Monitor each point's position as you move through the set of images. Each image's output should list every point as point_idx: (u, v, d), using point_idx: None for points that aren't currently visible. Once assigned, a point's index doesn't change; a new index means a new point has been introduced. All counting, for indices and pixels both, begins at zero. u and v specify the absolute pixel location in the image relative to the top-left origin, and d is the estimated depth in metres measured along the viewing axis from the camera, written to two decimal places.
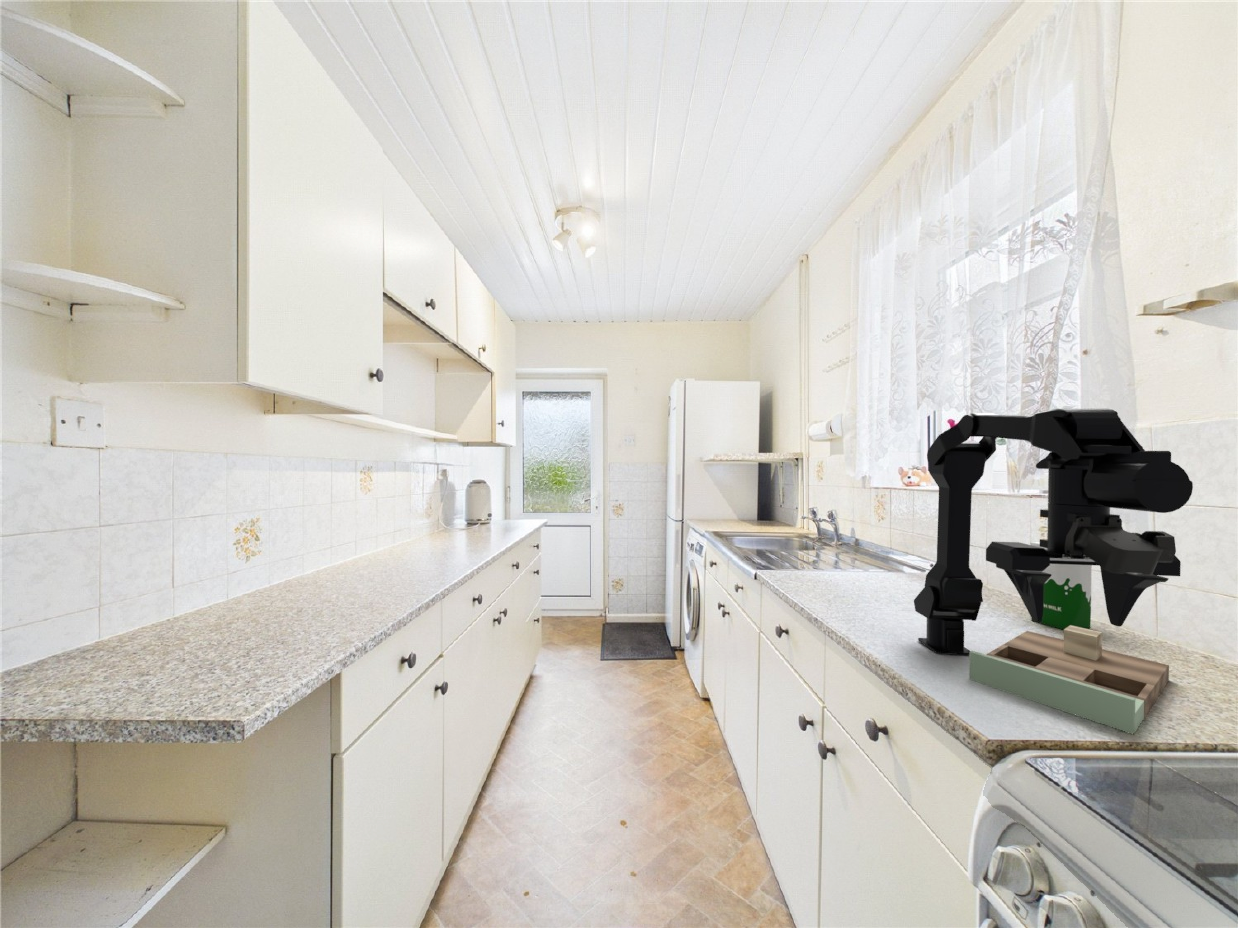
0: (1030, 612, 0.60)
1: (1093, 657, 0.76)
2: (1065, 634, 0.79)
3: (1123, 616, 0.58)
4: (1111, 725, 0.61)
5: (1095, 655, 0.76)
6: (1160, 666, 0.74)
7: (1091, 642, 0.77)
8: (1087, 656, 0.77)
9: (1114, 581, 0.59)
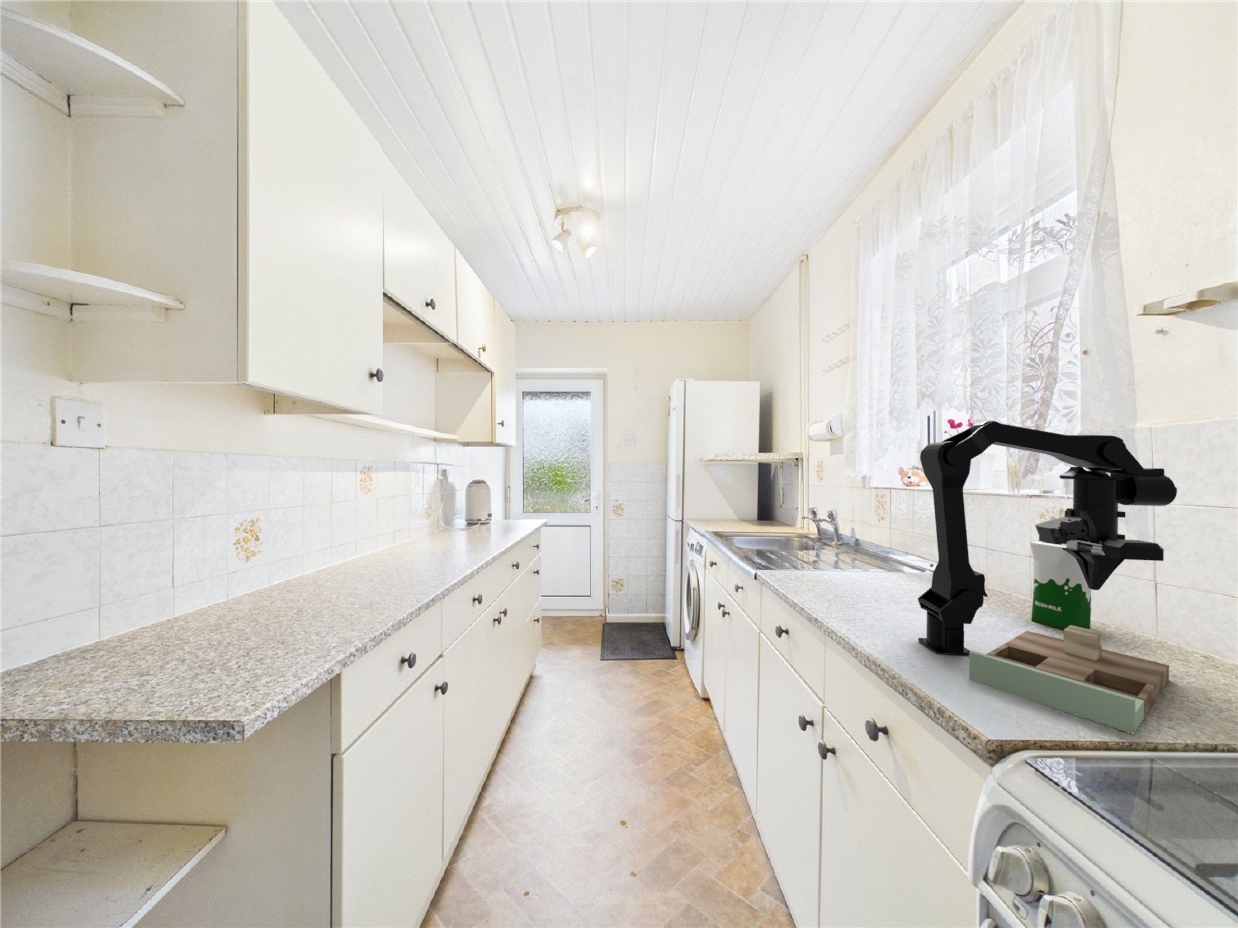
0: None
1: (1093, 657, 0.76)
2: (1065, 634, 0.79)
3: (1090, 581, 0.83)
4: (1111, 725, 0.61)
5: (1095, 655, 0.76)
6: (1160, 666, 0.74)
7: (1091, 642, 0.77)
8: (1087, 656, 0.77)
9: None
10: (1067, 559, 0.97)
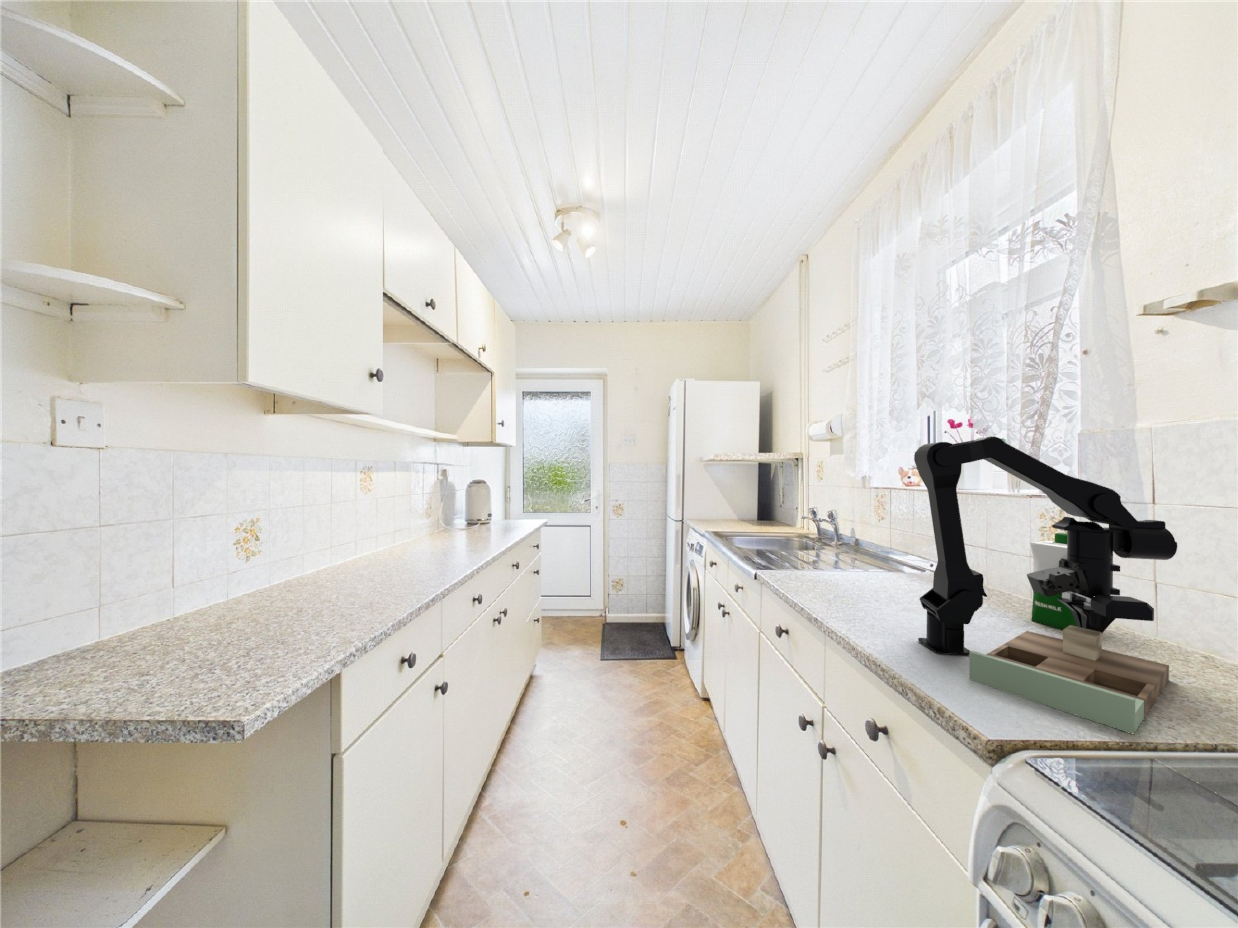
0: None
1: (1092, 657, 0.76)
2: (1064, 634, 0.79)
3: None
4: (1111, 725, 0.61)
5: (1094, 655, 0.76)
6: (1160, 666, 0.74)
7: (1090, 642, 0.77)
8: (1086, 656, 0.77)
9: None
10: None
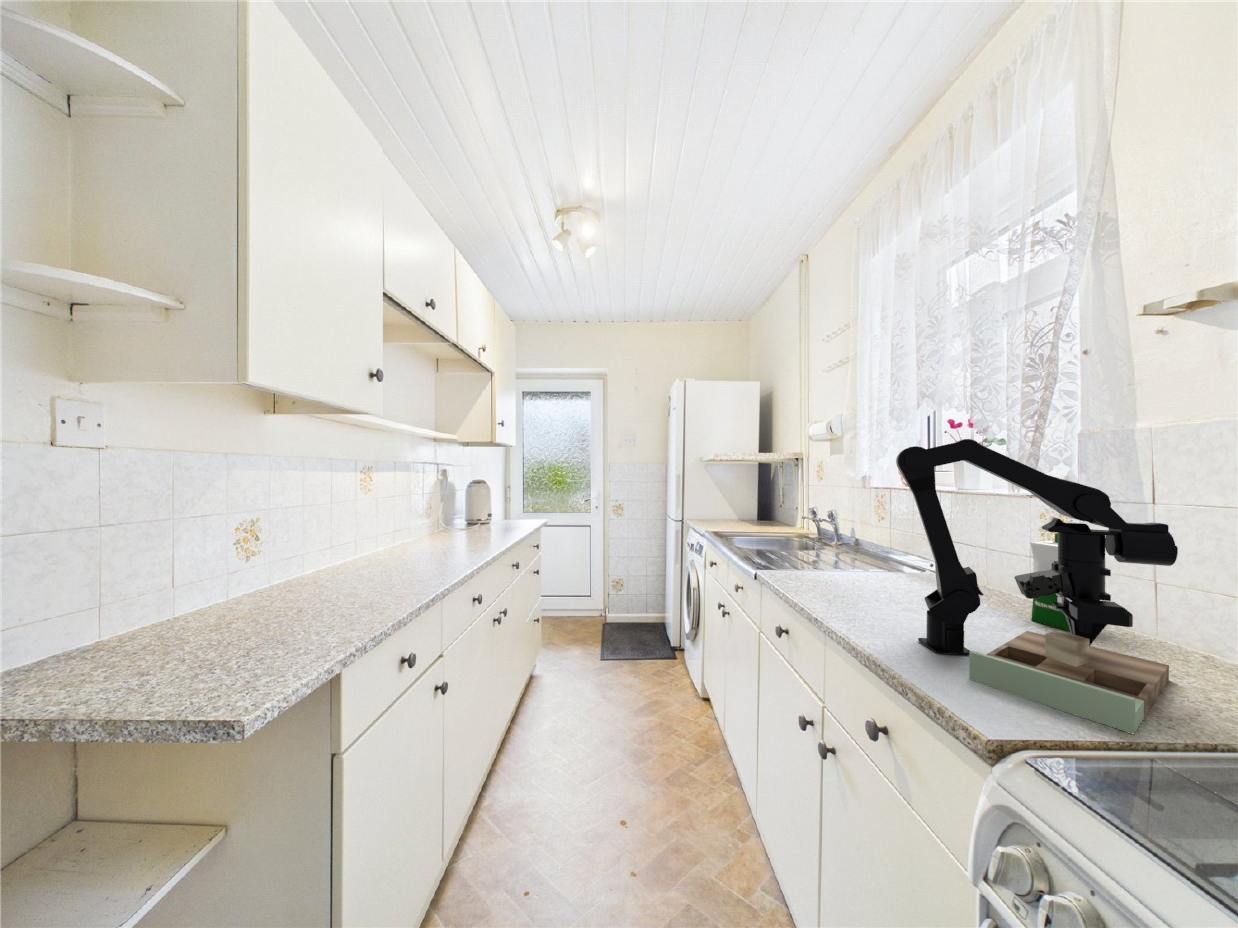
0: None
1: (1073, 663, 0.74)
2: (1046, 638, 0.77)
3: None
4: (1111, 725, 0.61)
5: (1075, 661, 0.74)
6: (1160, 666, 0.74)
7: (1071, 647, 0.74)
8: (1067, 662, 0.75)
9: None
10: None
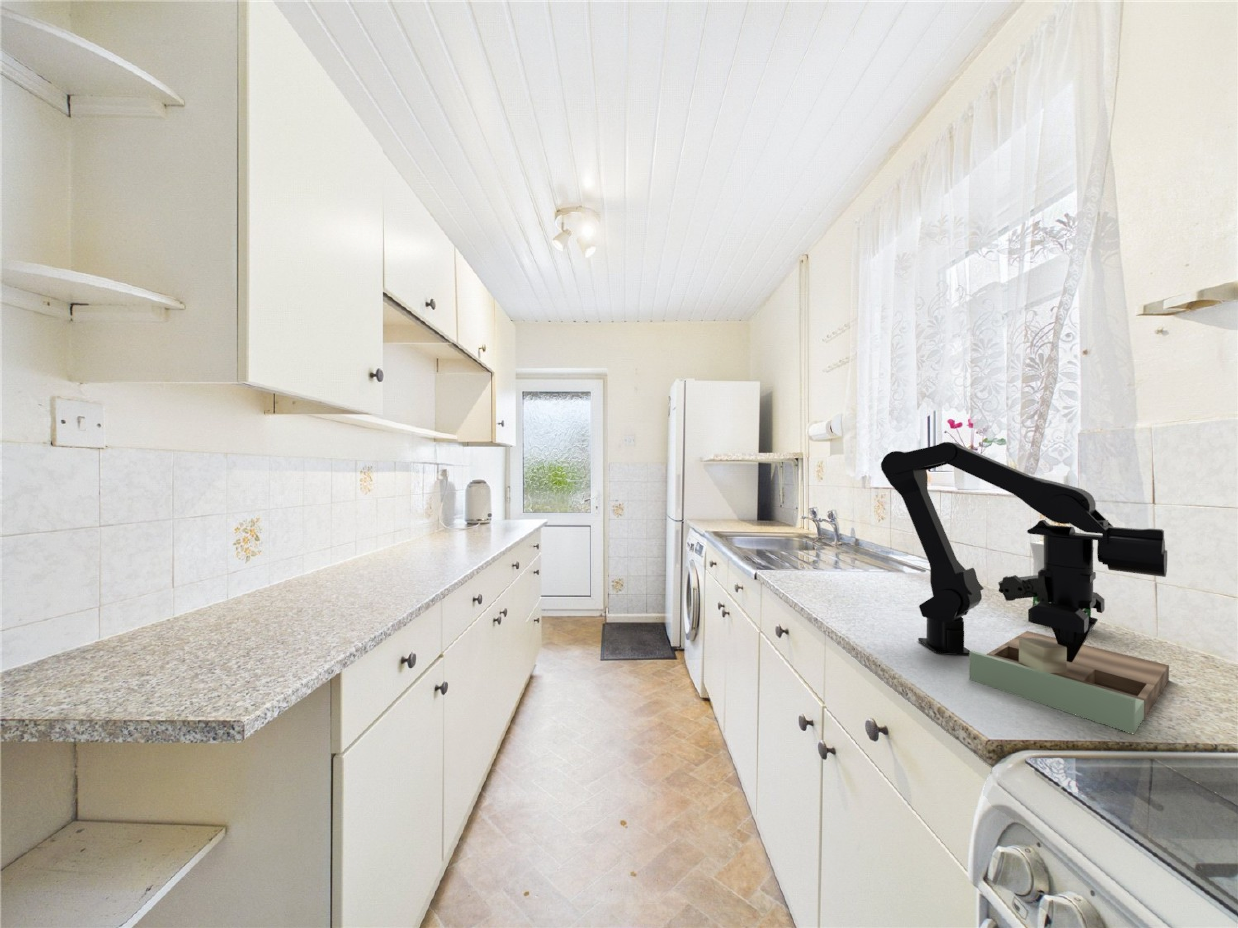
0: None
1: (1041, 669, 0.72)
2: (1020, 643, 0.75)
3: None
4: (1111, 725, 0.61)
5: (1043, 667, 0.71)
6: (1160, 666, 0.74)
7: (1039, 653, 0.72)
8: (1036, 668, 0.72)
9: None
10: None
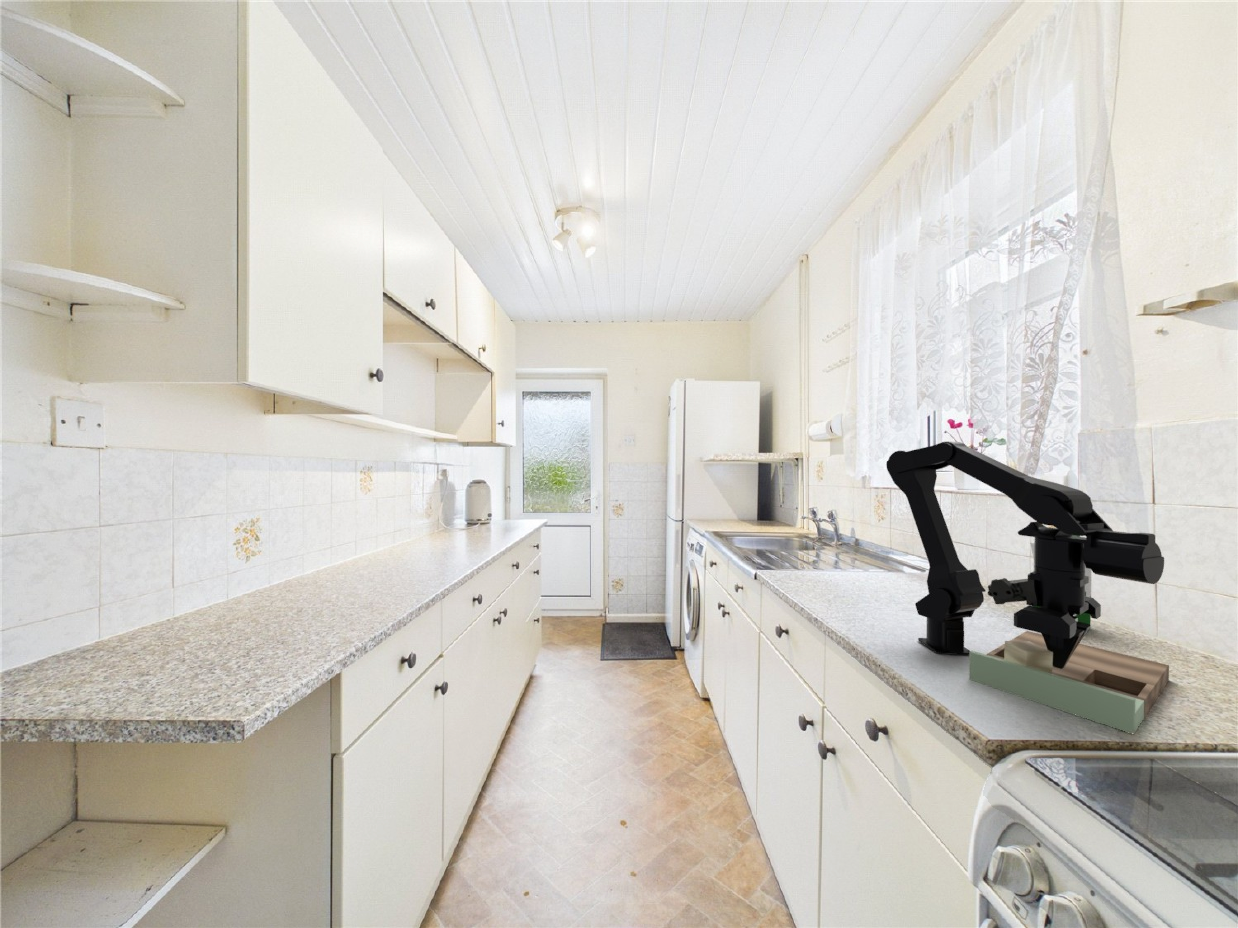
0: None
1: None
2: (1005, 646, 0.73)
3: None
4: (1111, 725, 0.61)
5: None
6: (1160, 666, 0.74)
7: (1023, 657, 0.70)
8: None
9: None
10: None
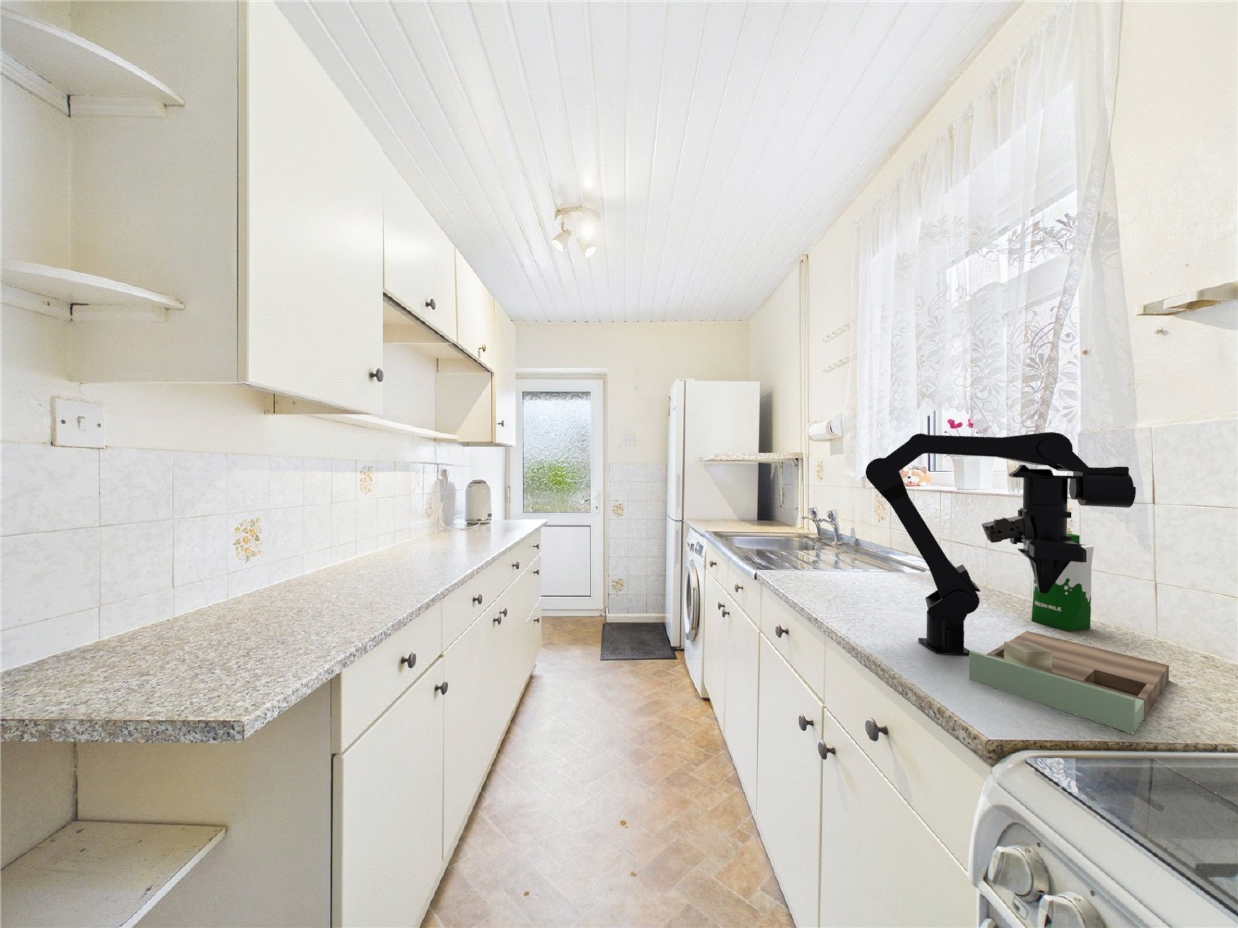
0: None
1: None
2: (1005, 646, 0.74)
3: (1037, 584, 0.80)
4: (1111, 725, 0.61)
5: None
6: (1160, 666, 0.74)
7: (1022, 657, 0.70)
8: None
9: None
10: None
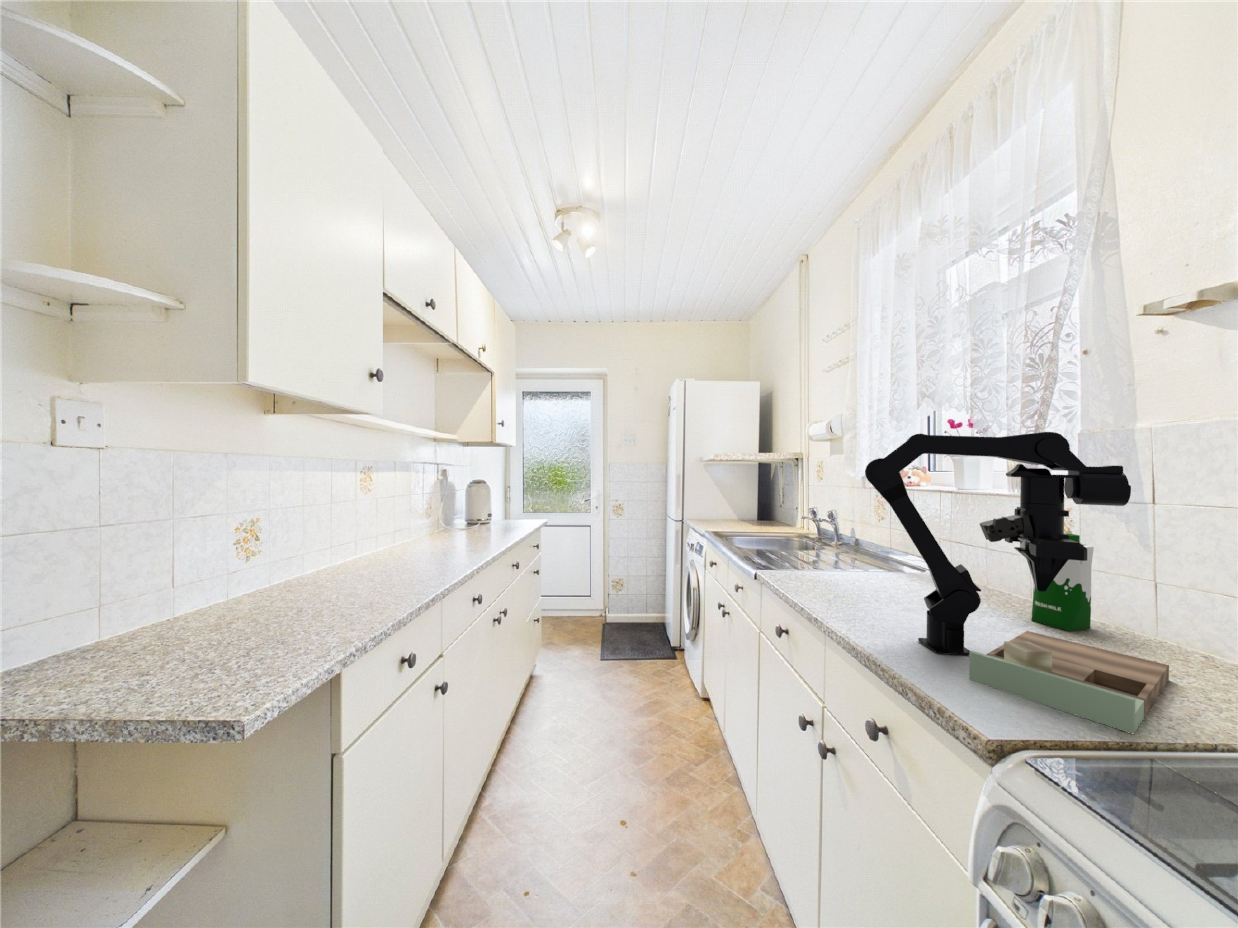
0: None
1: None
2: (1005, 646, 0.74)
3: (1035, 582, 0.81)
4: (1111, 725, 0.61)
5: None
6: (1160, 666, 0.74)
7: (1022, 657, 0.70)
8: None
9: None
10: None
